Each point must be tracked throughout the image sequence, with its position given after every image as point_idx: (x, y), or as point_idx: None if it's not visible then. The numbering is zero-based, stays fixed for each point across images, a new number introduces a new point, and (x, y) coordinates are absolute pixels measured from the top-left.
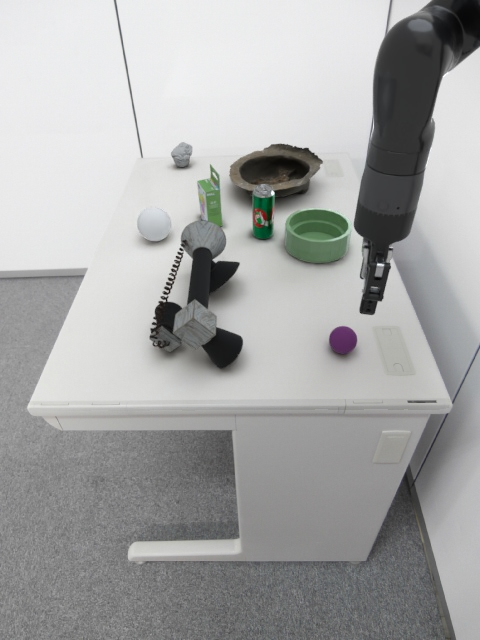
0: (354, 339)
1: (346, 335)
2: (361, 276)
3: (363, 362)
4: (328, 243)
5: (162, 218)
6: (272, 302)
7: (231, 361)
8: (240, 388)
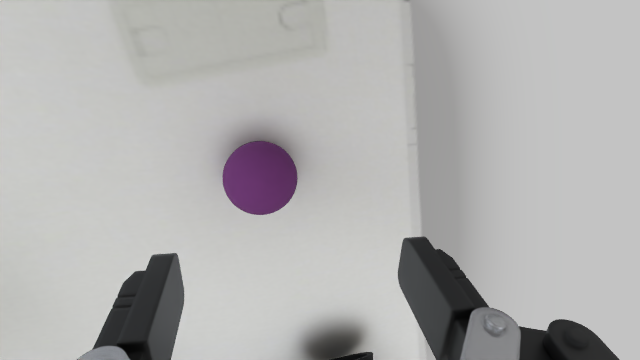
0: (274, 160)
1: (277, 187)
2: (182, 303)
3: (294, 108)
4: None
5: None
6: None
7: (372, 357)
8: (393, 310)
